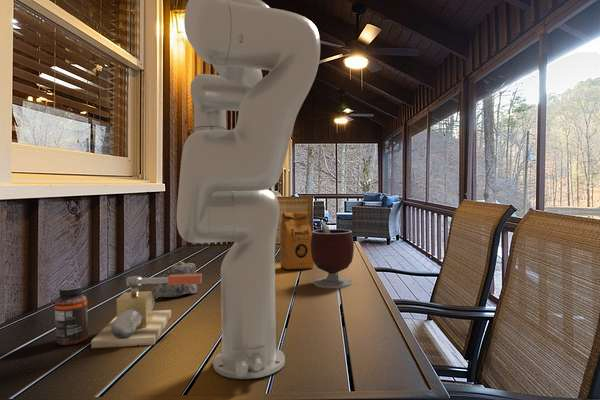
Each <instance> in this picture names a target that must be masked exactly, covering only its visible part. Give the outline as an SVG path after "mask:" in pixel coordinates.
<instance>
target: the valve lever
mask: <svg viewBox="0 0 600 400" xmlns="http://www.w3.org/2000/svg"><path fill="white" fill-rule="evenodd" d="M202 282H203V273H197V274H176V275H170V276H169V277H162V276H160V277H143V276H142V275H141V276H140V275H134V276H128V277H126V287H129V288H131V287H133V286H142V285H148V284H149V285H151V284H152V285H153V284H154V283H168V285H186V284H198V285H201V284H202Z"/></svg>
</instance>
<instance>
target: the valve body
mask: <svg viewBox="0 0 600 400" xmlns="http://www.w3.org/2000/svg"><path fill="white" fill-rule="evenodd" d="M155 305H156V300H155V298H154V296H153V291H152V290H150V291H149V290H148V291H147V290H146V291H139V286H133V287H130V291H125V292H124V293H122V294H121V295H120V296H119V297H117V298H116V316H117V319H116V320H115V321H114V322H113V323H112V326H111V331H112V333H113V335H114V336H115V337H117V338H119V339H126V338H128V337H130V336H131V335H132V334H133V332H134V331H135V330H136V328H144V327H147V326H148V324H149V323H150V322H151V320H152V319H153V317H152V311H153V308H154V307H155Z"/></svg>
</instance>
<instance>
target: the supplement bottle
mask: <svg viewBox="0 0 600 400" xmlns="http://www.w3.org/2000/svg"><path fill="white" fill-rule="evenodd" d="M58 290H59V297H58V298H56V300H55V302H54V319H55V322H54V323H55V338H56V340H55V341H56V344H58V345H59V346H71V345H77V344H80V343H83V342H85V341H86V340H87V339H88V338H89V316H88V298H87V296H85V295H83V294H82V286H81V285H78V284H72V285H65V286H62V287H60V288H59V289H58Z"/></svg>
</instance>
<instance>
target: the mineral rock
mask: <svg viewBox="0 0 600 400" xmlns="http://www.w3.org/2000/svg"><path fill="white" fill-rule="evenodd" d="M176 274H198V273H197V267H196V264H195V263H193V262H187V263H185V262H184V261H178V262H177V263H175V264H174V265H173V266H172V267H171V268H170V269H168V270H167V271H165V272H164V273H163V274H162V275H161V277H169V276H170V275H176ZM152 286H153V291H152V295H154V296H155V297H157V298H159V297H161V298H173V297H174V298H176V297H180V296H183V295H188V294H190V295H191V294H197V293H199V284H186V285H168V283H154V284H152Z"/></svg>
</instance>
